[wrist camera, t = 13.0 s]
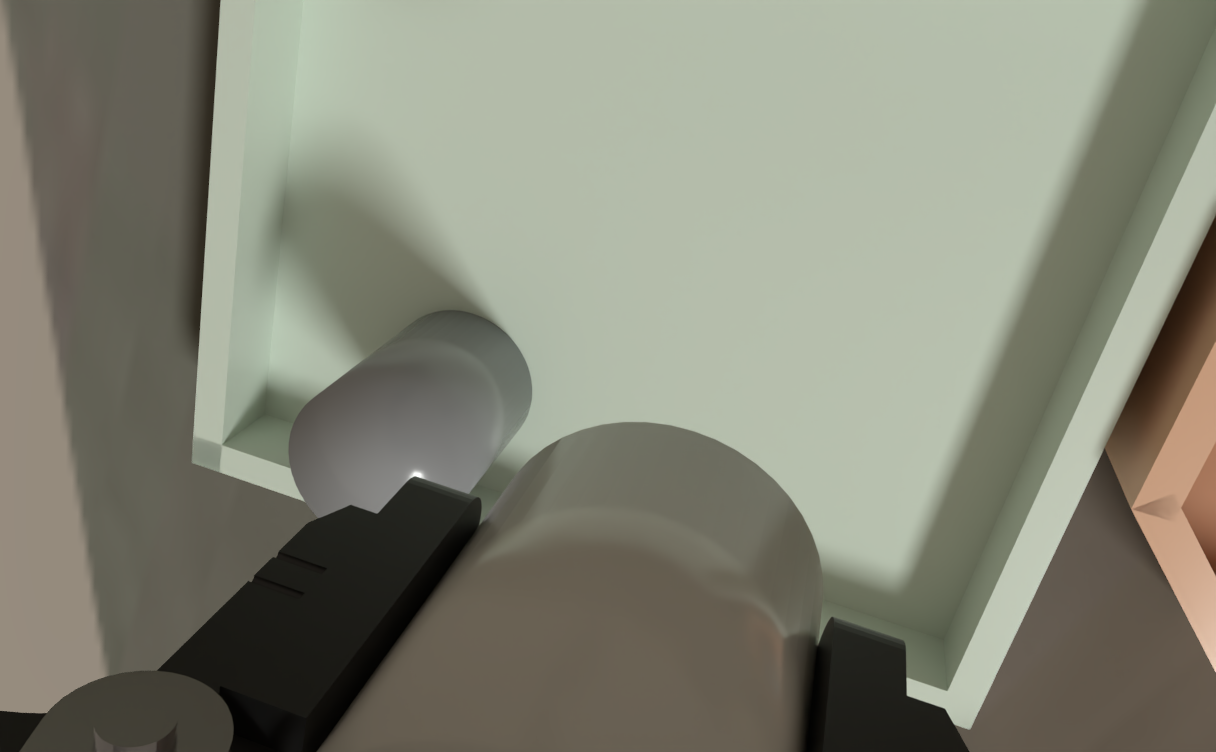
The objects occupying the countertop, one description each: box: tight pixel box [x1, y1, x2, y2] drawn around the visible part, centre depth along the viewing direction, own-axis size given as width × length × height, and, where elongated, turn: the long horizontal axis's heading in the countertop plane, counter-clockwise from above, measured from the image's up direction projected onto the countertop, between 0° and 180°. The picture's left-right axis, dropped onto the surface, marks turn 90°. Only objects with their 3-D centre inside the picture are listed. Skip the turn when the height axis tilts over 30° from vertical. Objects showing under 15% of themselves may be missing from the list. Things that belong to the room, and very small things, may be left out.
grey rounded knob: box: [288, 310, 532, 518], centre depth 24 cm, size 4×4×5 cm
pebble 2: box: [317, 422, 823, 752], centre depth 10 cm, size 4×4×5 cm
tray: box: [192, 0, 1216, 730], centre depth 23 cm, size 18×20×3 cm
